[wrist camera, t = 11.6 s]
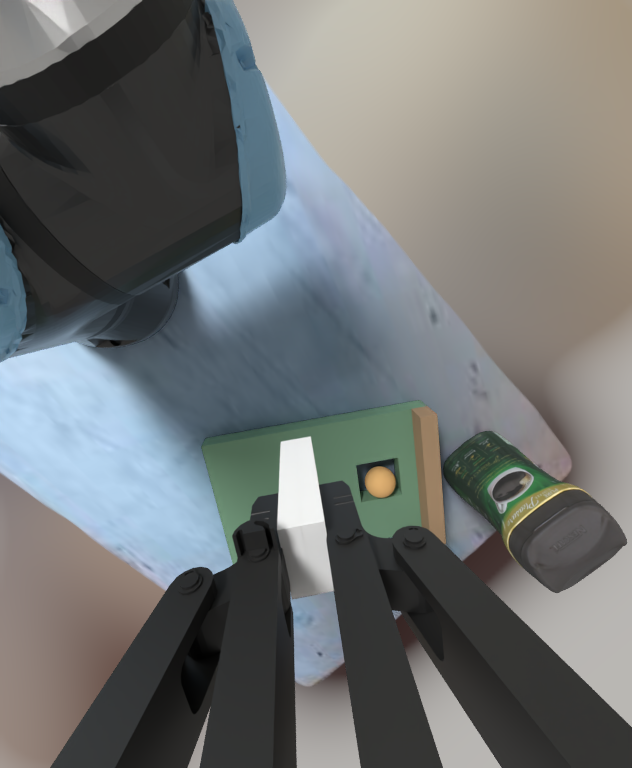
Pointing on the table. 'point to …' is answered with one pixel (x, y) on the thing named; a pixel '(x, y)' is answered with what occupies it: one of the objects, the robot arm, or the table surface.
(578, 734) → the robot arm
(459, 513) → the table surface
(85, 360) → the table surface
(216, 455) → the putting board
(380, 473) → the ball
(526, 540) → the coffee jar
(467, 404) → the table surface
